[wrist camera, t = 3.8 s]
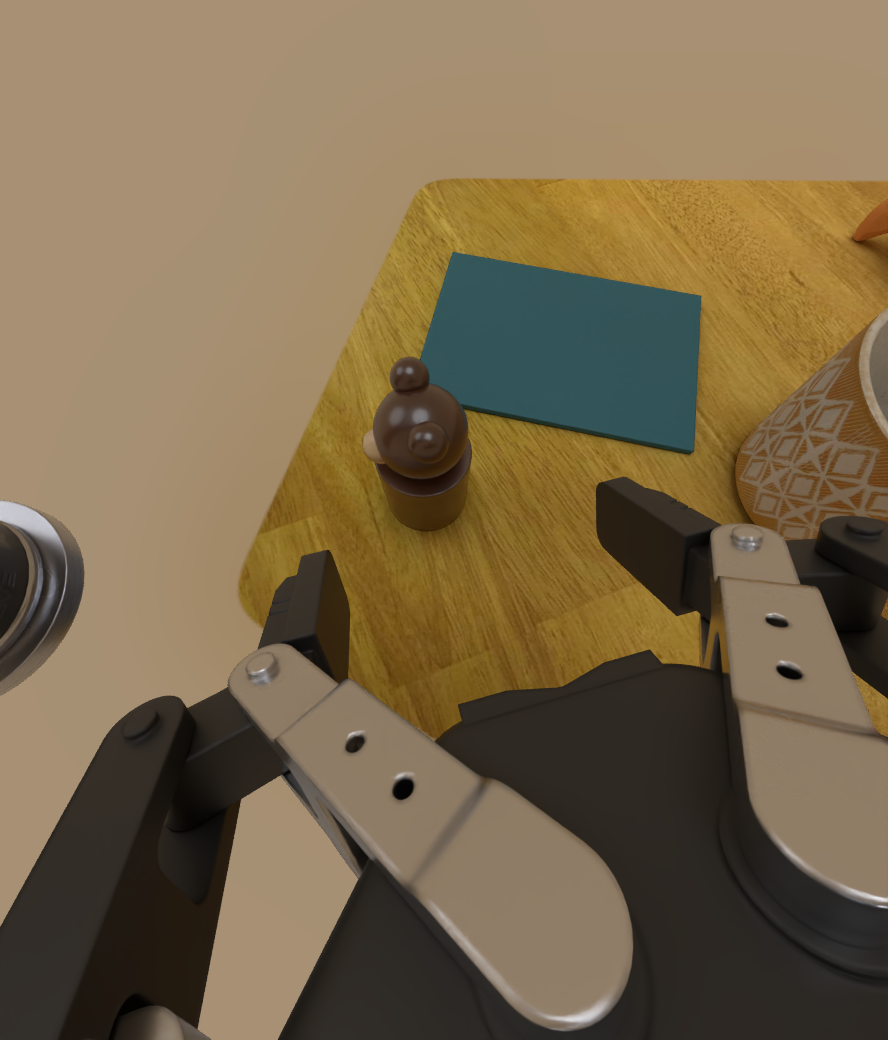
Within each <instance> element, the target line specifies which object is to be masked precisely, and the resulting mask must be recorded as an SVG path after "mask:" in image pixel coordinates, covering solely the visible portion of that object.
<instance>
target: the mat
mask: <svg viewBox="0 0 888 1040" xmlns="http://www.w3.org/2000/svg"><path fill="white" fill-rule="evenodd" d="M700 311H701V296H699V295H693V294H688V293H682V292H677V291H671V290H665V289H660V288H654V287H648V286H643V285H637V284H631V283H626V282H620V281H614V280H609V279H603V278H597V277H592V276H586V275H580V274H575V273H569V272H563V271H558V270H552V269H546V268H541V267H535V266H529V265H524V264H518V263H512V262H507V261H501V260H495V259H490V258H484V257H478V256H473V255H467V254H461V253H456V252H453V253H452V256H451V260H450V263H449V266H448V270H447V273H446V276H445V279H444V283H443V286H442V289H441V292H440V296H439V299H438V302H437V306H436V309H435V312H434V315H433V319H432V322H431V325H430V328H429V332H428V335H427V338H426V342H425V345H424V348H423V351H422V355H421V358H420V360H421V361H422V362H423V363H424V364H425V365H426V367H427V369H428V371H429V375H430V382H429V383H432V384H436V385H438V386H440V387H443V388H444V389H446V390H447V391H449V392H450V393H451V394H452V395H453V396H454V397H455V398H456V399H457V400H458V401H459V403H460V404H461V406H462V408H464V409H469V410H474V411H479V412H484V413H489V414H494V415H499V416H504V417H509V418H514V419H518V420H523V421H528V422H533V423H538V424H543V425H548V426H553V427H558V428H563V429H568V430H573V431H578V432H582V433H587V434H592V435H597V436H602V437H607V438H612V439H617V440H622V441H627V442H632V443H637V444H642V445H647V446H651V447H656V448H661V449H666V450H671V451H676V452H681V453H686V454H691V453H692V452H693V451H694V438H695V417H696V396H697V375H698V354H699V332H700Z"/></svg>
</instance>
